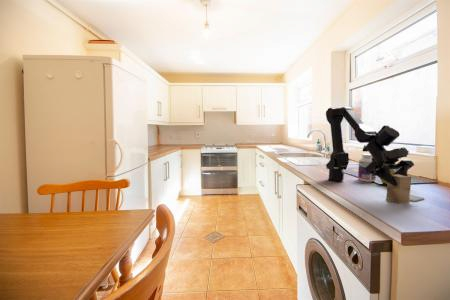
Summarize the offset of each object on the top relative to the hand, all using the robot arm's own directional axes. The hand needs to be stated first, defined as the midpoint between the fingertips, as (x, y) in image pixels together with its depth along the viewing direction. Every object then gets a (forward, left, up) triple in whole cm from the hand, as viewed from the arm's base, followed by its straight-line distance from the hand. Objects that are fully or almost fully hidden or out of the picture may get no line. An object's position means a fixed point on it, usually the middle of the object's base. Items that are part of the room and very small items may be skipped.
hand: (402, 185), depth 85 cm
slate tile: (+2, +9, -7) cm, 11 cm away
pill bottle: (-15, +34, -7) cm, 38 cm away
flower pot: (-4, +31, -7) cm, 32 cm away
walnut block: (-1, +1, -7) cm, 7 cm away
